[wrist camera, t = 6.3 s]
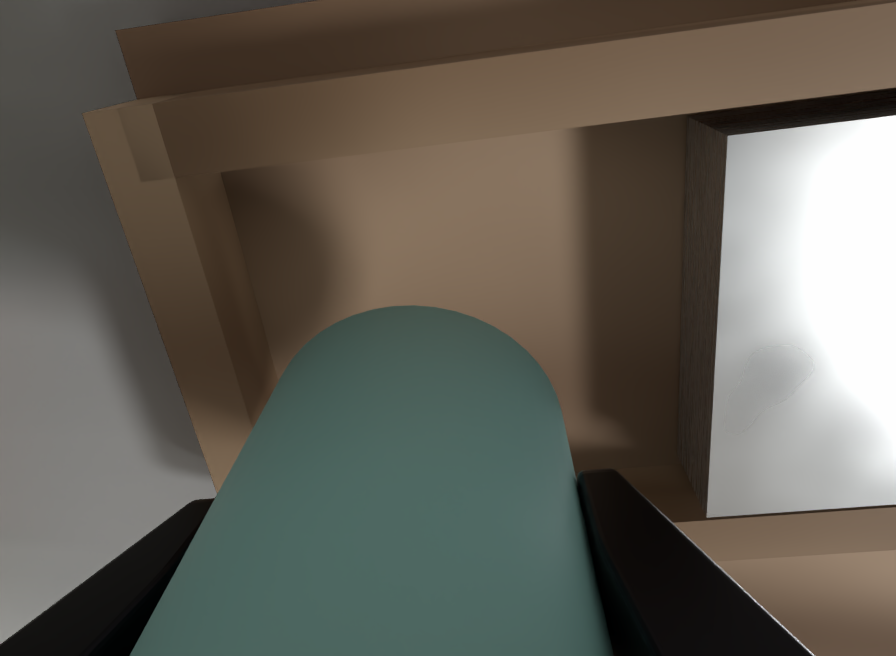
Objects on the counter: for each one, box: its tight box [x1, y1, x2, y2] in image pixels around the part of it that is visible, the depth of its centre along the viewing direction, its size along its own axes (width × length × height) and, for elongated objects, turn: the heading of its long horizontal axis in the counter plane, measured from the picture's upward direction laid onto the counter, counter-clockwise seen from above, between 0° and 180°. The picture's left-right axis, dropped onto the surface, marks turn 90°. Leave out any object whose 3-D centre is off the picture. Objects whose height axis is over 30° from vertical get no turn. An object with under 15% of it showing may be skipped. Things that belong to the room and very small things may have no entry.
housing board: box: [82, 0, 896, 656], centre depth 12 cm, size 16×18×3 cm
